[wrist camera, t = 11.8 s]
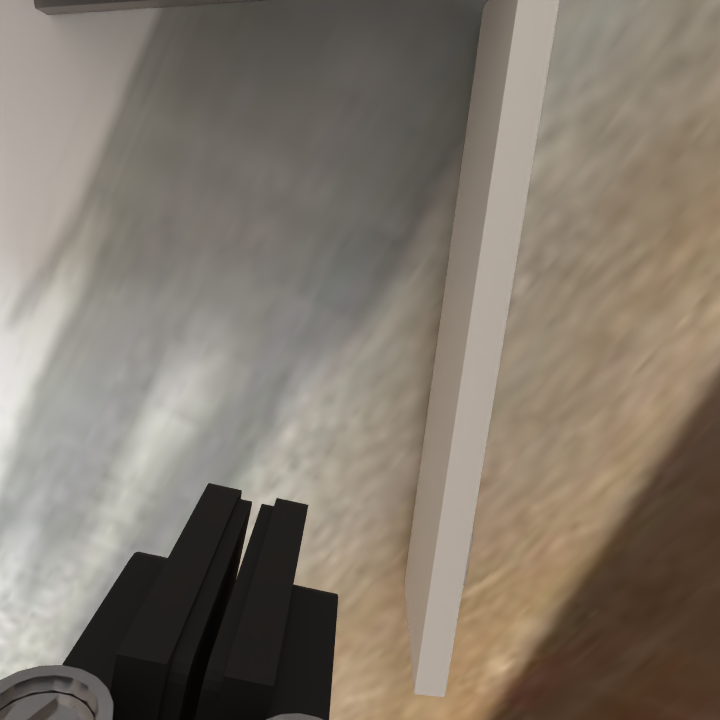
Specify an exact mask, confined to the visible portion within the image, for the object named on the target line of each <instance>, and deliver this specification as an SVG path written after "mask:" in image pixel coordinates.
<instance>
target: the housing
mask: <svg viewBox="0 0 720 720" xmlns="http://www.w3.org/2000/svg"><path fill="white" fill-rule="evenodd" d="M245 1H259V0H34V4H35V8H36V9H38V10H40V11H42V12H43V13H45V14H47V15H52V14H67V13H82V12H97V11H112V10H126V9H141V8H156V7H171V6H185V5H200V4H215V3H230V2H245Z"/></svg>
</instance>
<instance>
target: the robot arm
mask: <svg viewBox="0 0 720 720" xmlns="http://www.w3.org/2000/svg"><path fill="white" fill-rule="evenodd" d="M241 493H242V492H241V490H238V489H233V488H229V487H224V486H219V485H215V484H210V483H209V484H208V485H207V487H206V489H205V491H204V492H203V494H202V496H201V498H200V500H199V502H198V504H197V505H196V507H195V509H194V511H193V513H192V515H191V516H190V518H189V520H188V522H187V524H186V526H185V528H184V529H183V531H182V533H181V535H180V537H179V539H178V541H177V542H176V544H175V546H174V548H173V550H172V552H171V554H170V555H169V557H168V558H165V557H161V556H156V555H151V554H146V553H142V552H136V553H134V555H133V556H132V557H131V558H130V560H129V561H128V563H127V565H126V566H125V568H124V569H123V571H122V572H121V574H120V576H119V577H118V579H117V580H116V582H115V583H114V585H113V586H112V588H111V590H110V591H109V593H108V594H107V596H106V597H105V599H104V601H103V602H102V604H101V605H100V607H99V608H98V610H97V611H96V613H95V615H94V616H93V618H92V619H91V621H90V622H89V624H88V626H87V627H86V629H85V630H84V632H83V633H82V635H81V636H80V638H79V640H78V641H77V643H76V644H75V646H74V647H73V649H72V651H71V652H70V654H69V655H68V657H67V658H66V660H65V661H64V663H63V665H54V666H39V667H34V668H30V669H26V670H22V671H19V672H17V673H14V674H12V675H10V676H8V677H6V678H4V679H2V680H0V720H329V712H330V699H331V686H332V672H333V659H334V646H335V633H336V620H337V606H338V595H337V594H335V593H330V592H325V591H320V590H316V589H311V588H306V587H302V586H297V585H293V583H294V578H295V572H296V567H297V562H298V557H299V551H300V546H301V541H302V536H303V530H304V525H305V520H306V515H307V509H308V505H306V504H302V503H297V502H292V501H288V500H283V499H279V498H277V499H276V502H275V505H274V506H270V505H265V504H262V505H261V508H260V511H259V514H258V517H257V520H256V523H255V526H254V528H253V531H252V534H251V537H250V540H249V543H248V546H247V549H246V552H245V555H244V558H243V561H242V564H241V567H240V570H239V573H238V568H239V563H240V558H241V554H242V549H243V544H244V539H245V535H246V530H247V525H248V520H249V516H250V511H251V505H252V502H251V501H247V500H242V499H241ZM237 573H238V576H237ZM236 577H237V579H236Z"/></svg>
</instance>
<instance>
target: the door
mask: <svg viewBox="0 0 720 720" xmlns="http://www.w3.org/2000/svg"><path fill="white" fill-rule="evenodd" d="M559 1H560V0H488V1H487V3H486V4H485V6H484V7H483V12H482V20H481V27H480V34H479V42H478V49H477V56H476V63H475V71H474V78H473V85H472V93H471V100H470V107H469V114H468V122H467V129H466V136H465V144H464V151H463V158H462V165H461V173H460V180H459V187H458V195H457V202H456V209H455V216H454V224H453V231H452V238H451V246H450V253H449V260H448V267H447V275H446V282H445V289H444V297H443V304H442V311H441V318H440V326H439V333H438V340H437V348H436V355H435V362H434V369H433V377H432V384H431V391H430V399H429V406H428V413H427V420H426V428H425V435H424V442H423V450H422V457H421V464H420V471H419V479H418V486H417V493H416V501H415V508H414V515H413V522H412V530H411V537H410V544H409V552H408V559H407V566H406V573H405V581H404V588H405V599H406V610H407V621H408V632H409V643H410V655H411V666H412V677H413V688H414V694H418V695H429V696H439V697H445V692H446V686H447V680H448V674H449V667H450V661H451V655H452V649H453V643H454V637H455V631H456V625H457V619H458V613H459V607H460V601H461V595H462V589H463V586H465V582H466V576H467V570H468V564H469V558H470V552H471V546H472V540H473V533H472V528H473V522H474V516H475V510H476V504H477V498H478V492H479V486H480V480H481V474H482V468H483V462H484V456H485V449H486V443H487V437H488V431H489V425H490V419H491V413H492V407H493V401H494V395H495V389H496V383H497V377H498V371H499V365H500V359H501V353H502V346H503V340H504V334H505V328H506V322H507V316H508V310H509V304H510V298H511V292H512V286H513V280H514V274H515V268H516V262H517V256H518V250H519V244H520V237H521V231H522V225H523V219H524V213H525V207H526V201H527V195H528V189H529V183H530V177H531V171H532V165H533V159H534V153H535V147H536V141H537V135H538V128H539V122H540V116H541V110H542V104H543V98H544V92H545V86H546V80H547V74H548V68H549V62H550V56H551V50H552V44H553V38H554V32H555V26H556V19H557V13H558V7H559Z"/></svg>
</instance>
